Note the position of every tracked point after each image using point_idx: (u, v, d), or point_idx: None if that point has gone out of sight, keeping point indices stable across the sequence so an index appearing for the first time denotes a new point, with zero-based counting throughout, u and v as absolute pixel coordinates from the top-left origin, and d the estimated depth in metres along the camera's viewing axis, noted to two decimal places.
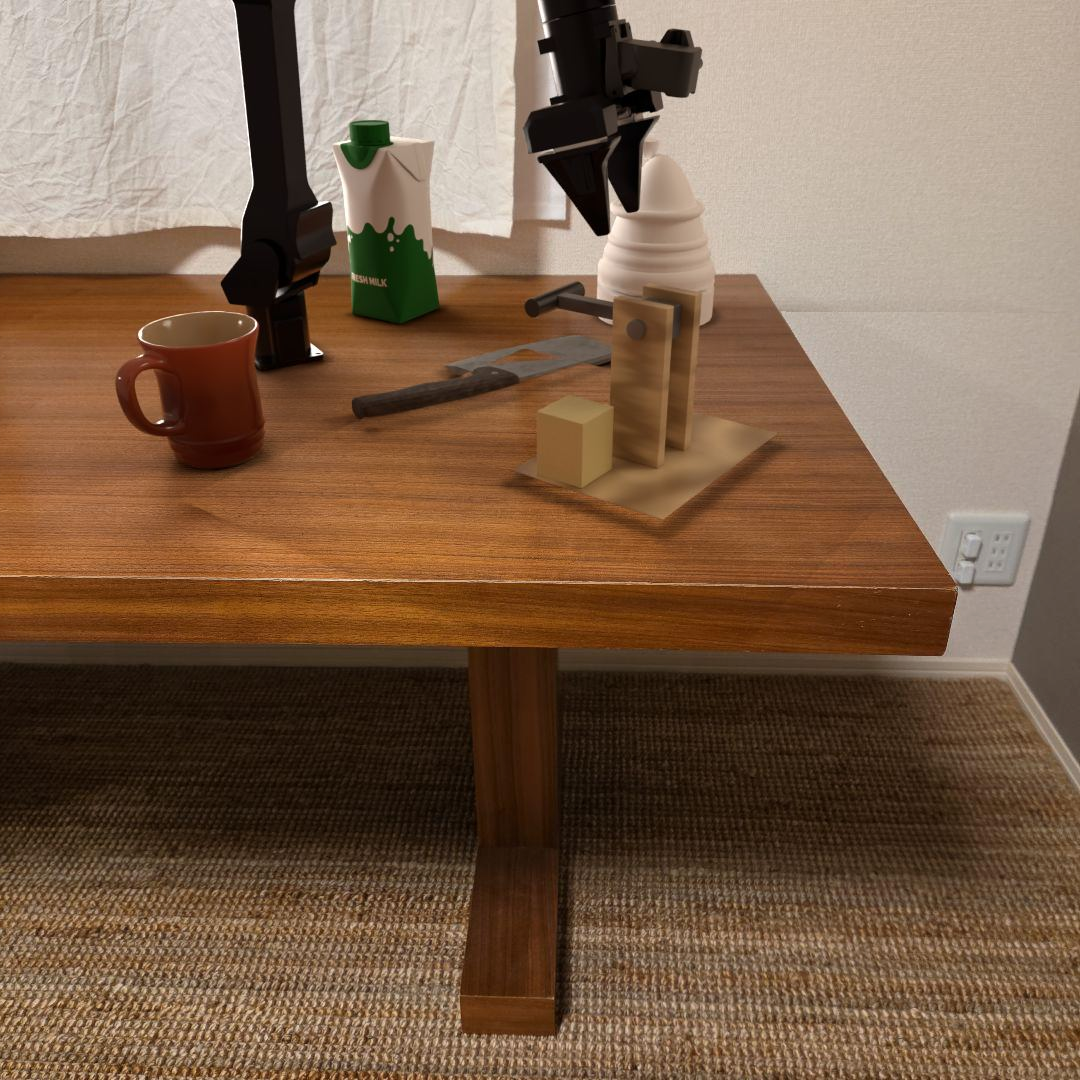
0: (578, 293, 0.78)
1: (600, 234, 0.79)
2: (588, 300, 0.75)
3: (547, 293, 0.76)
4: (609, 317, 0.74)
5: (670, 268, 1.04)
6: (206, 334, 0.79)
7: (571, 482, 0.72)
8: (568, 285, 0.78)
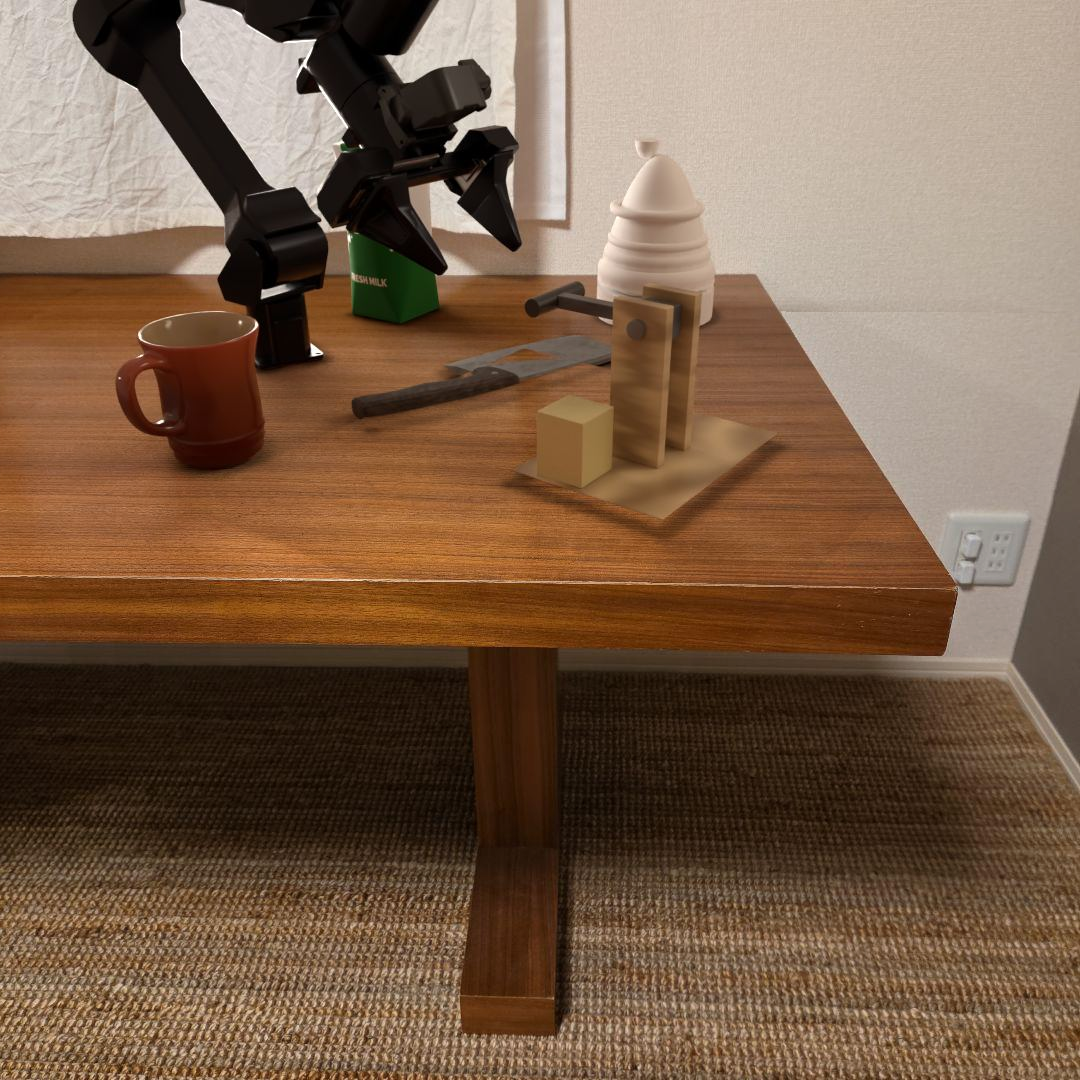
0: (578, 293, 0.78)
1: (439, 272, 0.77)
2: (588, 300, 0.75)
3: (547, 293, 0.76)
4: (609, 317, 0.74)
5: (670, 268, 1.04)
6: (206, 334, 0.79)
7: (571, 482, 0.72)
8: (568, 285, 0.78)
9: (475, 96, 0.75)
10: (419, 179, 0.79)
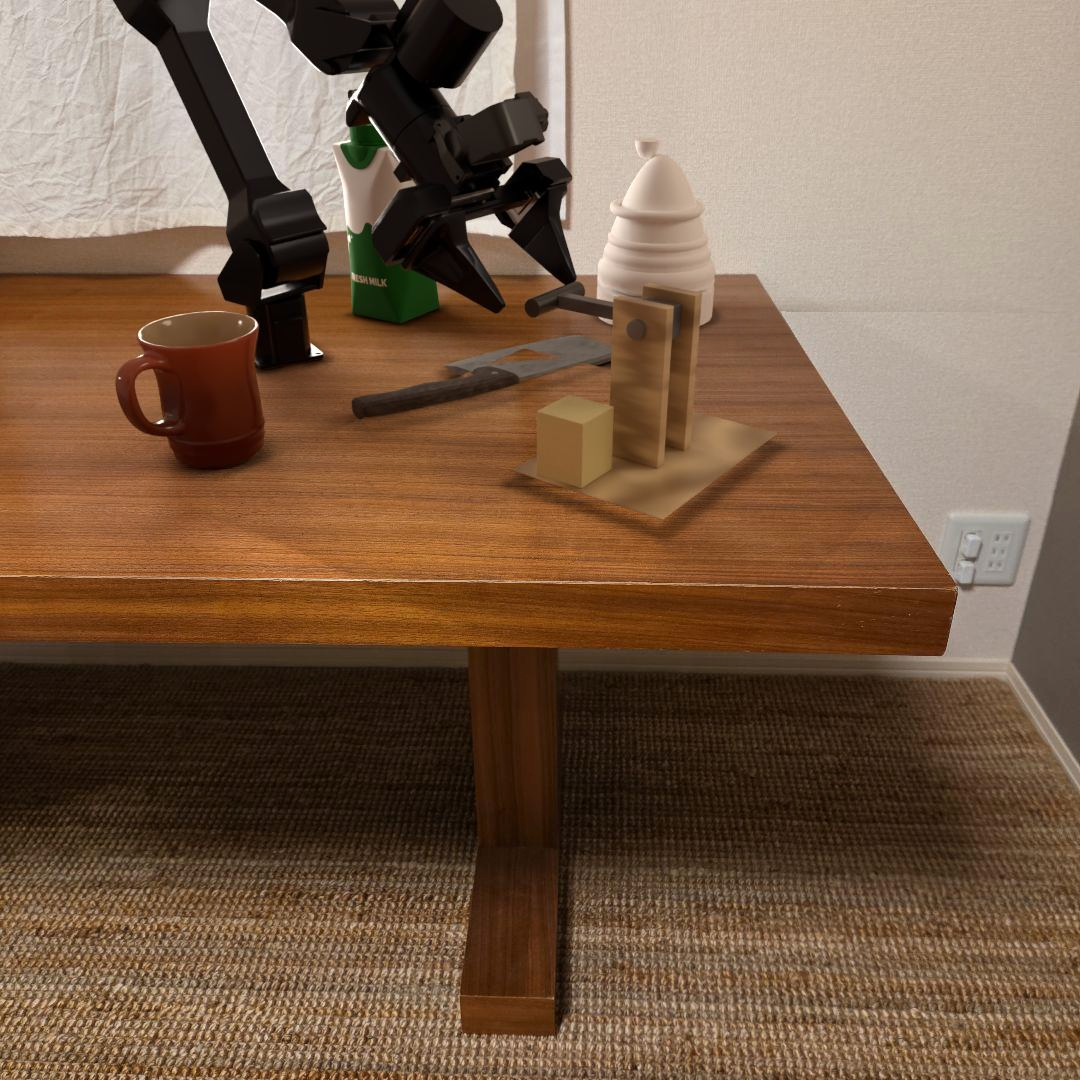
0: (578, 293, 0.78)
1: (497, 310, 0.75)
2: (588, 300, 0.75)
3: (547, 293, 0.76)
4: (609, 317, 0.74)
5: (670, 268, 1.04)
6: (206, 334, 0.79)
7: (571, 482, 0.72)
8: (568, 285, 0.78)
9: (534, 130, 0.73)
10: (474, 214, 0.77)
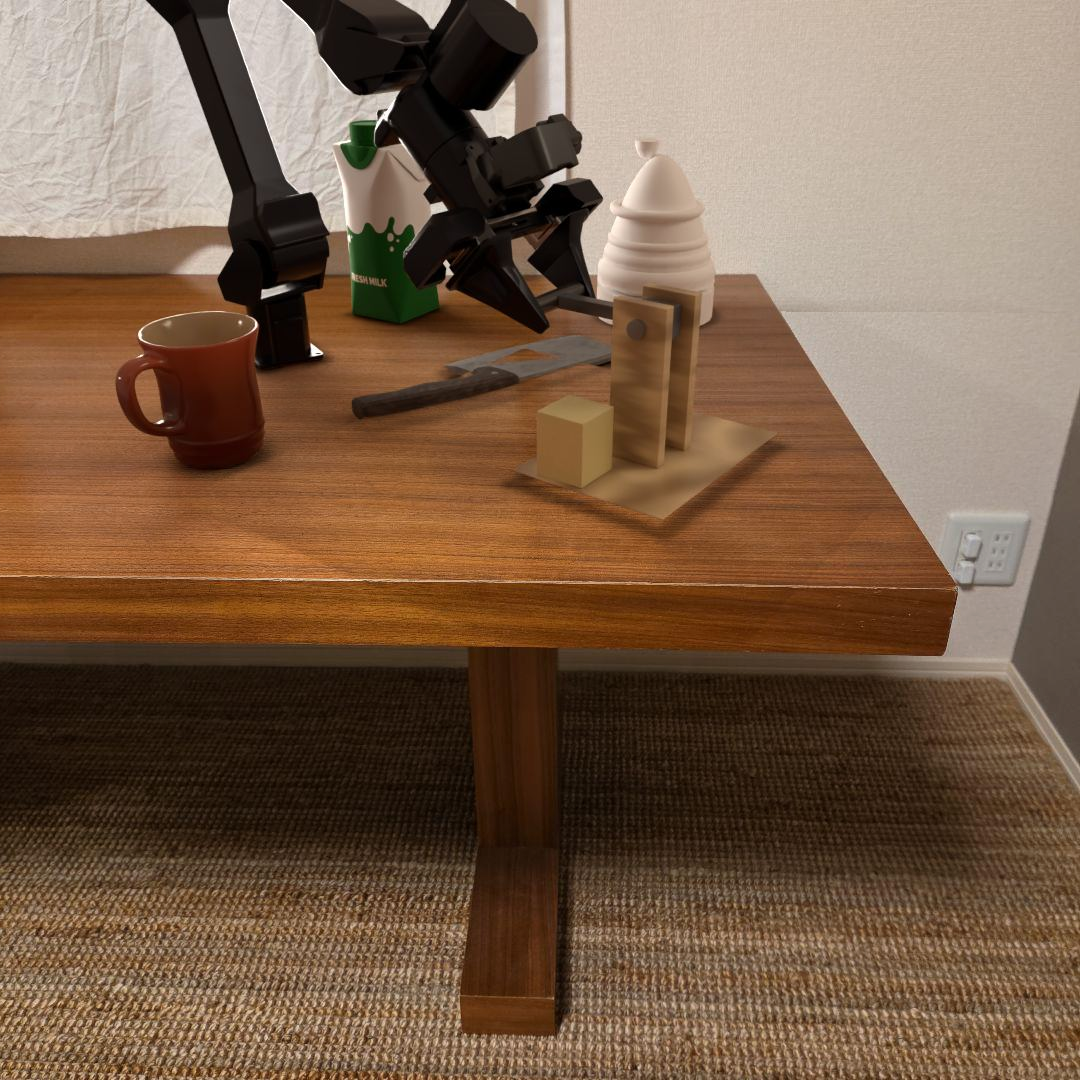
0: (578, 293, 0.78)
1: (541, 331, 0.75)
2: (588, 300, 0.75)
3: (547, 293, 0.76)
4: (609, 317, 0.74)
5: (670, 268, 1.04)
6: (206, 334, 0.79)
7: (571, 482, 0.72)
8: (568, 285, 0.78)
9: (568, 154, 0.72)
10: None
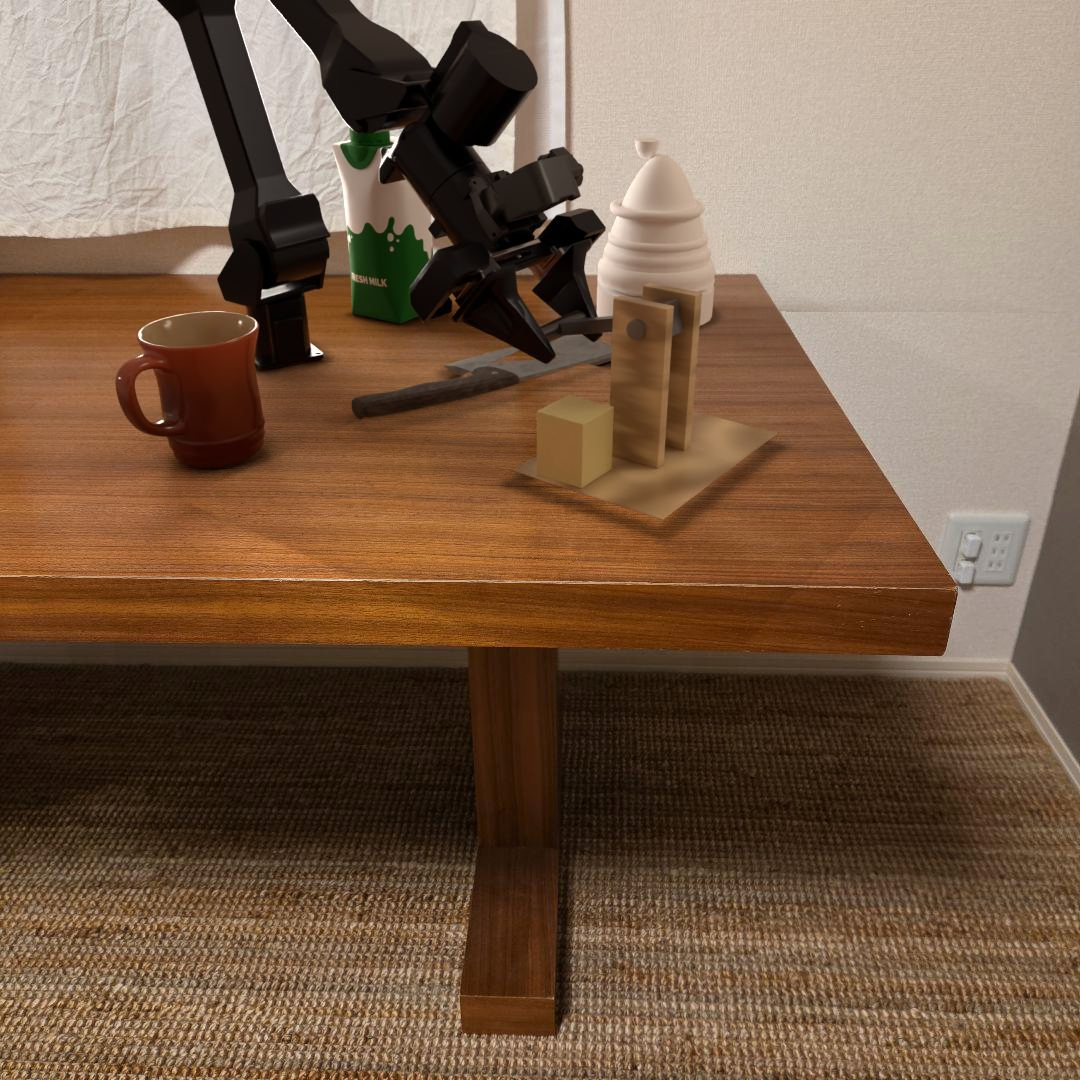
0: (580, 319, 0.79)
1: (547, 361, 0.76)
2: (588, 320, 0.76)
3: (548, 322, 0.77)
4: (611, 330, 0.75)
5: (670, 268, 1.04)
6: (206, 334, 0.79)
7: (571, 482, 0.72)
8: (569, 314, 0.79)
9: (570, 187, 0.73)
10: None
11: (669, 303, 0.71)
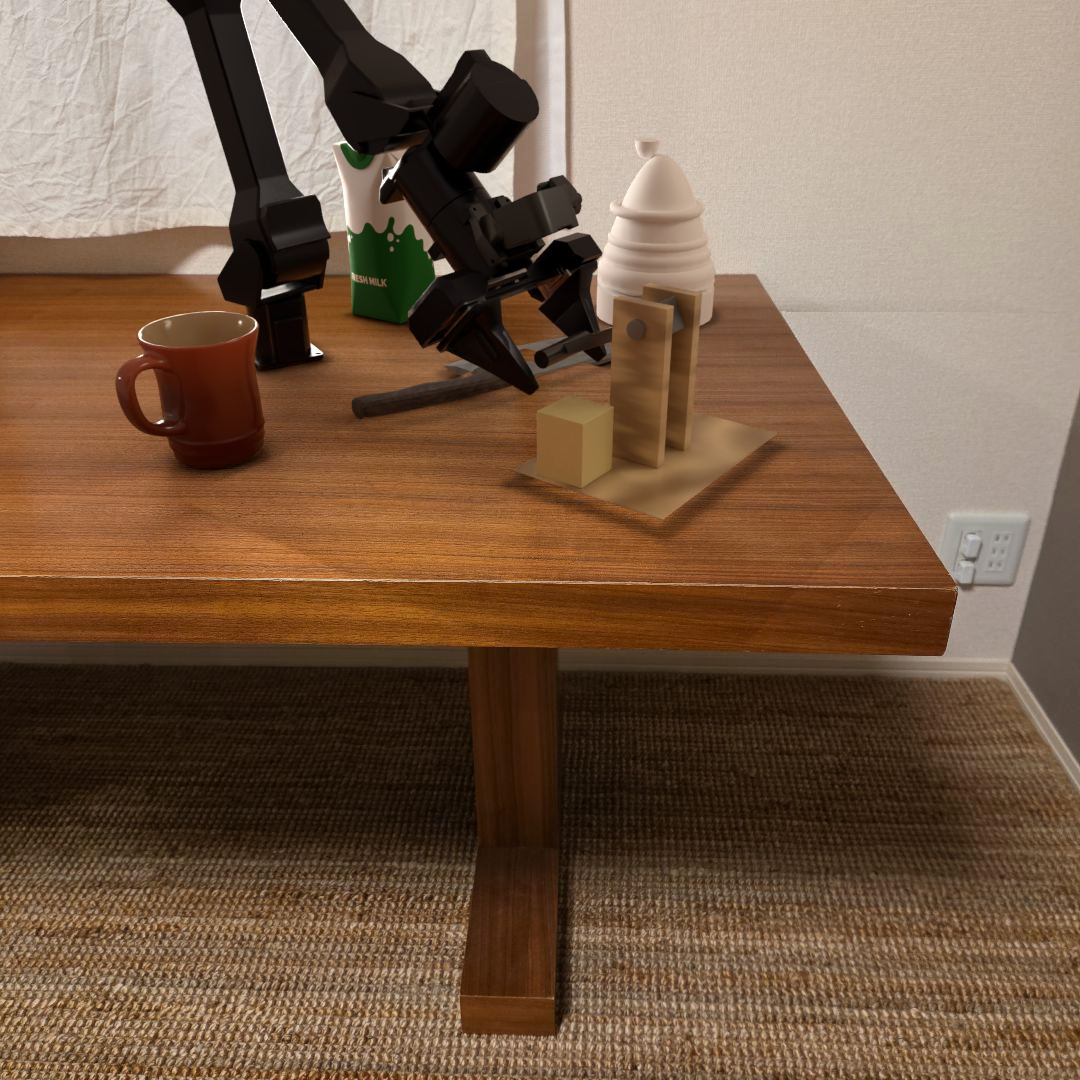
0: None
1: (530, 392, 0.76)
2: (591, 334, 0.76)
3: (553, 344, 0.78)
4: None
5: (670, 268, 1.04)
6: (206, 334, 0.79)
7: (571, 482, 0.72)
8: (573, 335, 0.80)
9: (568, 217, 0.74)
10: (507, 294, 0.79)
11: (666, 300, 0.71)
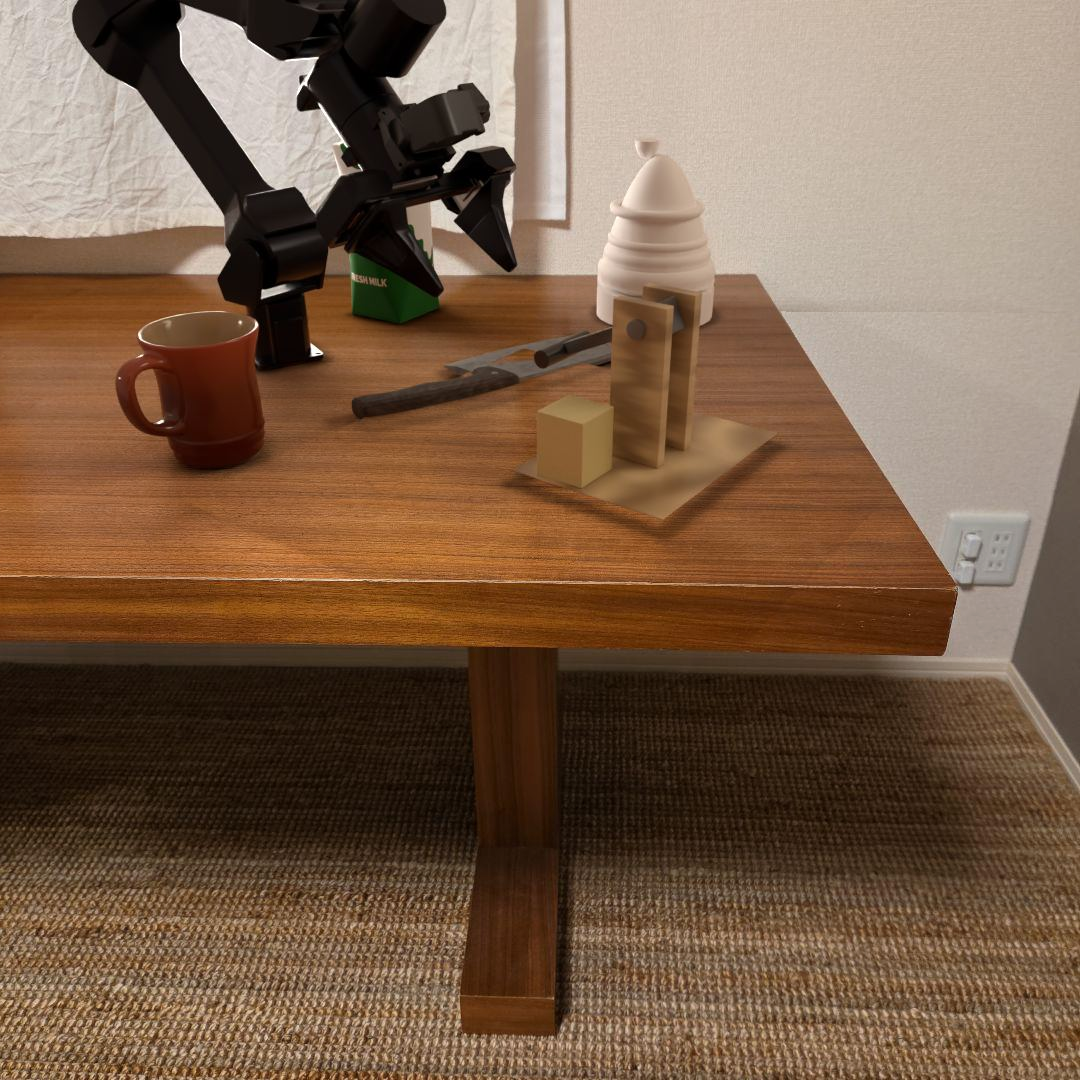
0: None
1: (435, 294, 0.78)
2: (591, 334, 0.76)
3: (553, 344, 0.78)
4: None
5: (670, 268, 1.04)
6: (206, 334, 0.79)
7: (571, 482, 0.72)
8: (573, 335, 0.80)
9: (474, 121, 0.76)
10: (417, 200, 0.80)
11: (666, 300, 0.71)
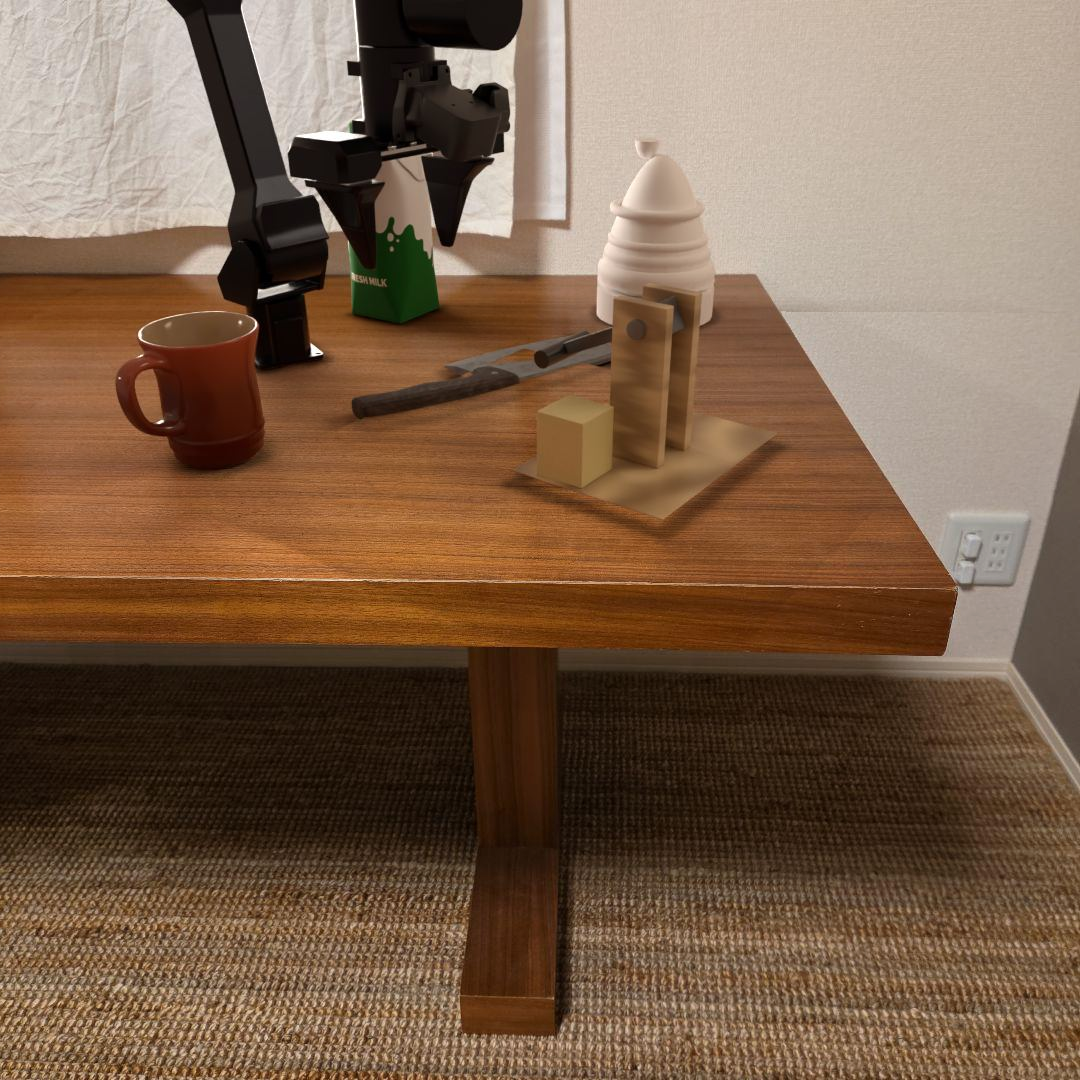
0: None
1: (366, 267, 0.79)
2: (591, 334, 0.76)
3: (553, 344, 0.78)
4: None
5: (670, 268, 1.04)
6: (206, 334, 0.79)
7: (571, 482, 0.72)
8: (573, 335, 0.80)
9: (486, 148, 0.75)
10: None
11: (666, 300, 0.71)
